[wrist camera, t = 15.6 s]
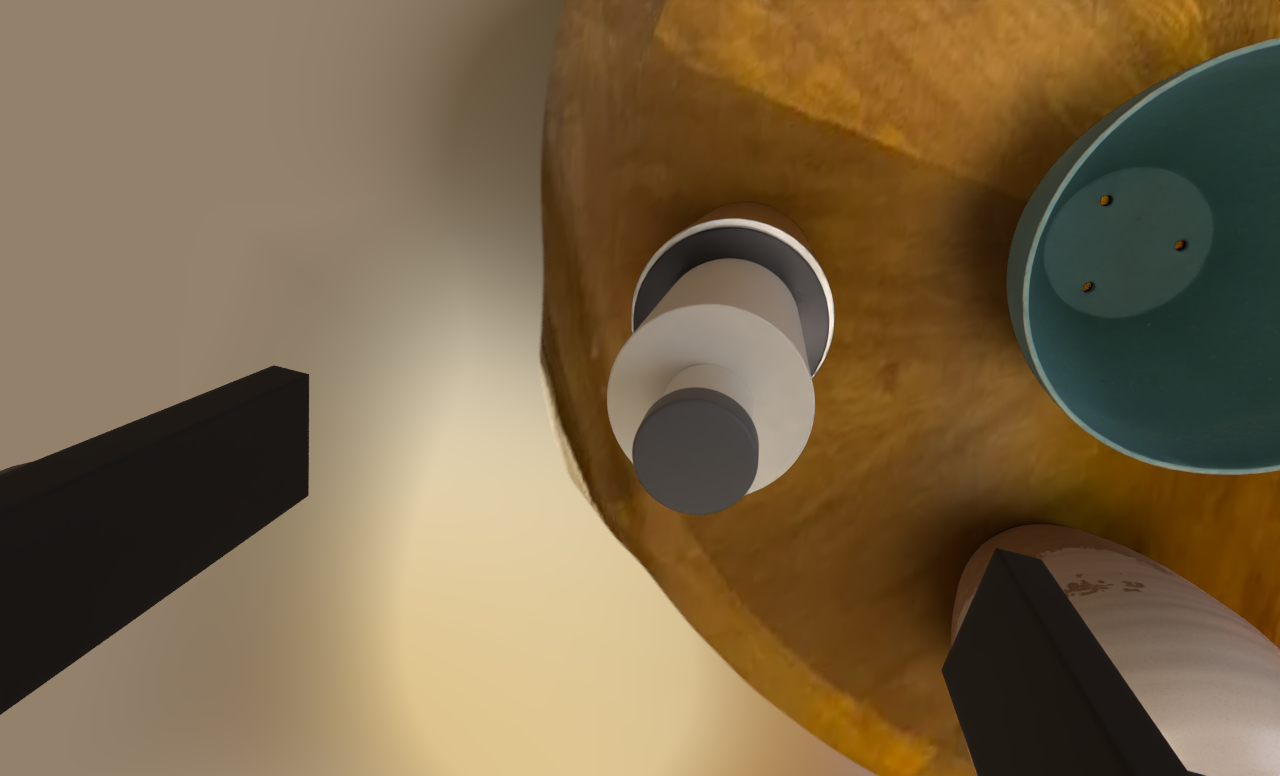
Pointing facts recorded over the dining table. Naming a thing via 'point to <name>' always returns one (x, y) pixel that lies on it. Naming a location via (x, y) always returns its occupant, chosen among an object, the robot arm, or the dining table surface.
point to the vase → (1161, 646)
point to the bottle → (714, 388)
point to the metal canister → (753, 239)
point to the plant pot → (1164, 271)
